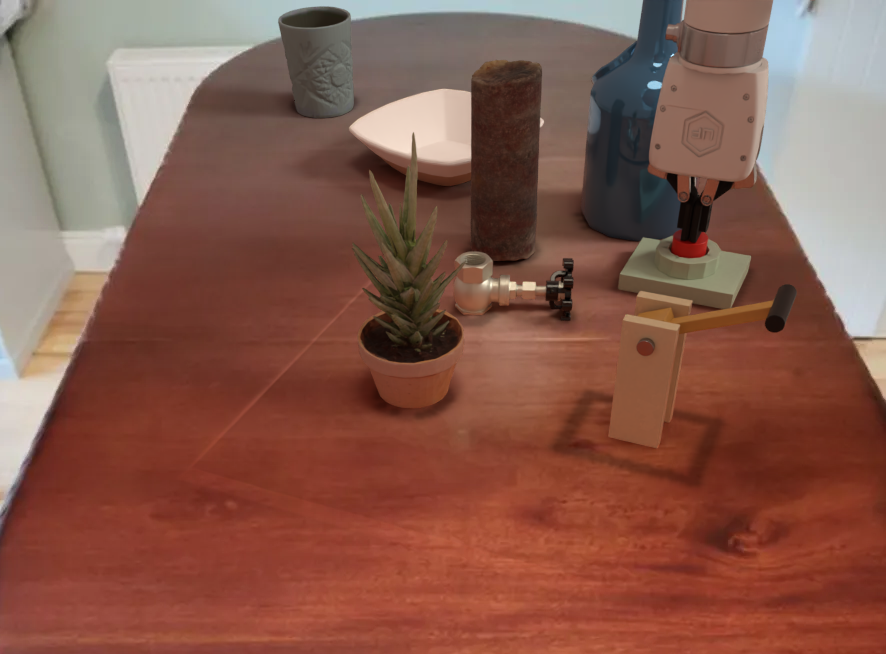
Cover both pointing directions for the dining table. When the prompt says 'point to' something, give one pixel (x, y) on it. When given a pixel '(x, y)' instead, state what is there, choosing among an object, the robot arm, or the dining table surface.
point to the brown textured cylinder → (505, 158)
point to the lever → (734, 314)
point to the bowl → (423, 135)
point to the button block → (685, 273)
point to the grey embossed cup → (319, 60)
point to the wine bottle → (630, 135)
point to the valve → (506, 286)
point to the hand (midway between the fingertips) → (691, 235)
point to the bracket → (647, 371)
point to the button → (689, 246)
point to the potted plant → (407, 306)
